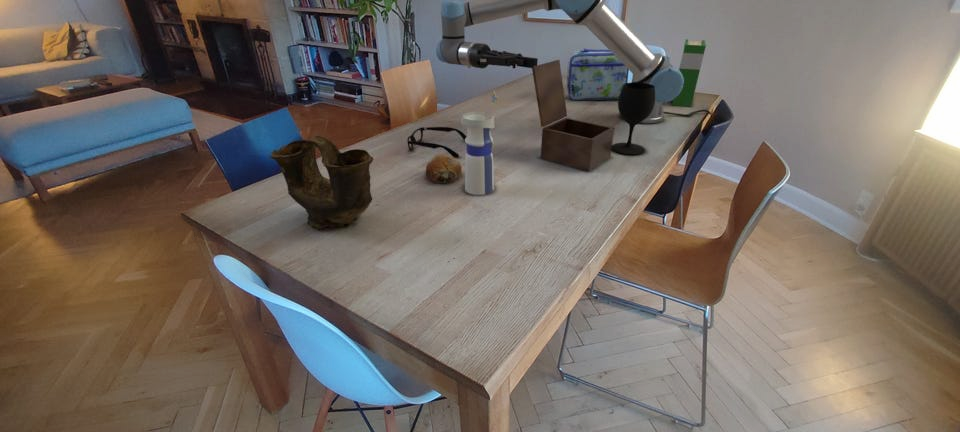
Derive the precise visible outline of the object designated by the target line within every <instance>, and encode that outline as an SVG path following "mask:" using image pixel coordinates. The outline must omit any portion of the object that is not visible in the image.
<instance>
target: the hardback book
mask: <svg viewBox="0 0 960 432" xmlns="http://www.w3.org/2000/svg"><path fill="white" fill-rule="evenodd" d="M706 46H707V45H706V40H705V39H702V40H701V41H689V39H687V38H686V39H685V41H684V46H683V50H682V54H681V60H680V64H679V68H678V70H679V71H680V72H681V73H682V75H683V78H684V84H683V88H682V90H681V92H680V93H679V95H678V96H677V97H676V98H674V99H673V100H672V103H671V105H672V106H676V107H677V106H678V107H688V108H691V107H692V104H693V100H694V96H695V92H696V88H697V84H698V80H699V76H700V71H701V68H702V63H703V61H704V60H703V59H704V54H705V52H706V51H705V50H706Z"/></svg>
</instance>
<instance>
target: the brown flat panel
mask: <svg viewBox="0 0 960 432" xmlns="http://www.w3.org/2000/svg"><path fill="white" fill-rule="evenodd" d="M531 71H532V77H533V84H534V90H535V96H536V100H537V101H536V103H537V108H538V114H539V120H540V121H539V122H540V126H541V128H544V127H547V126H549V125H551V124H553V123H556V122H558V121H560V120H562V119H564V118H567V117H568V111H567V105H566V98H565V90H564V83H563V78H562V69H561V60H560V59H556V60H552V61H548V62H544V63H541V64H537V66H533V67H532V68H531Z"/></svg>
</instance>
